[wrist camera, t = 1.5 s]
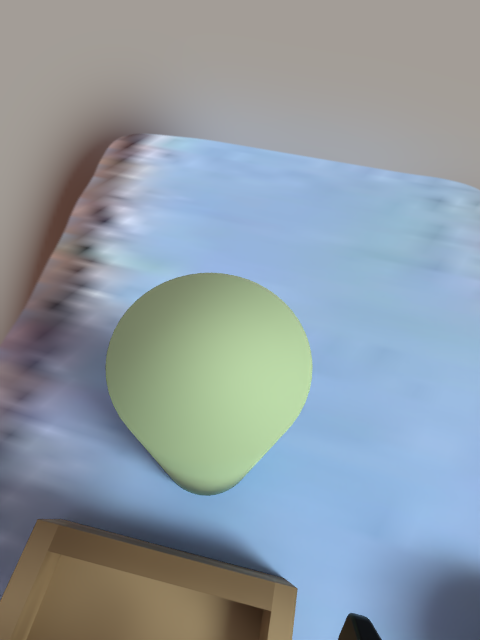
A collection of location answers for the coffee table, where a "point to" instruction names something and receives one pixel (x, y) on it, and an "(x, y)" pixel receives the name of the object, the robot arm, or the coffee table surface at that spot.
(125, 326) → the green rounded tapered cylinder
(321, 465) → the coffee table surface
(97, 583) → the tray
